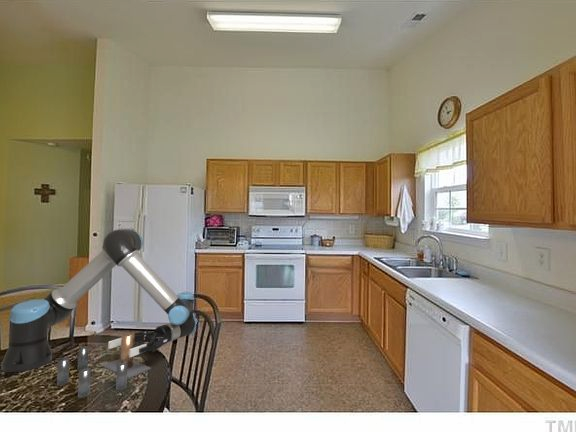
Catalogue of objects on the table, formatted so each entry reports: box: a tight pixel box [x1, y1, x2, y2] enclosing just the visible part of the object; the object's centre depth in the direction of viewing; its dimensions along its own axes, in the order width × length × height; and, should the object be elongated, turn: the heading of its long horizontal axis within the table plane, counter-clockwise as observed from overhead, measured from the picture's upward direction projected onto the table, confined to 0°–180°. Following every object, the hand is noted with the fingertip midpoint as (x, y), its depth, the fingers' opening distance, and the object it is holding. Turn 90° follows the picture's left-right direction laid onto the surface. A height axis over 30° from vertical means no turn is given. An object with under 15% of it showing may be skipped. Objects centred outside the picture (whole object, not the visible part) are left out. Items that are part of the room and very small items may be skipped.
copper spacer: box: [119, 332, 135, 369], centre depth 119 cm, size 4×4×12 cm
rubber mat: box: [101, 358, 152, 380], centre depth 119 cm, size 17×9×1 cm, turn 59°
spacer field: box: [56, 345, 128, 399], centre depth 107 cm, size 28×12×8 cm, turn 59°
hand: (118, 349), depth 116 cm, fingers open, 13 cm apart
